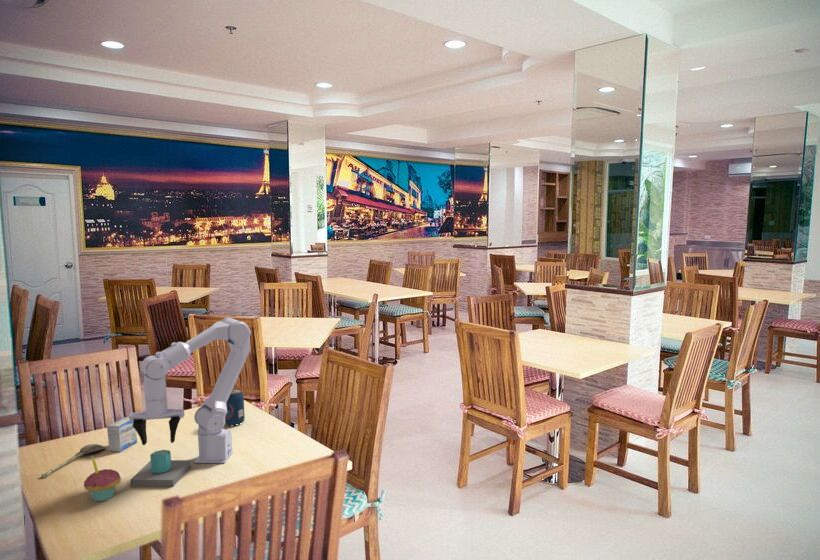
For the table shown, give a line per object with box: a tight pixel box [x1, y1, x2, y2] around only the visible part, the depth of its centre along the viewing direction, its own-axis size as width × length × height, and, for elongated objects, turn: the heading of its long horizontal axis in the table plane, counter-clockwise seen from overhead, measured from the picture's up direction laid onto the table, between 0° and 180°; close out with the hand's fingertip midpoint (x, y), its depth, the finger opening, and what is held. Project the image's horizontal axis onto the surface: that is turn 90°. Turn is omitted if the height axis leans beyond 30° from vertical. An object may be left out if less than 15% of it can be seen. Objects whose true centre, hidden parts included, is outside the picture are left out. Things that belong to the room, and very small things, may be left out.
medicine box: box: [106, 416, 138, 453], centre depth 177 cm, size 8×4×9 cm, turn 168°
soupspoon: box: [41, 443, 106, 479], centre depth 168 cm, size 22×3×7 cm
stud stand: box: [129, 459, 192, 488], centre depth 158 cm, size 12×12×6 cm
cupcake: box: [83, 455, 122, 502], centre depth 146 cm, size 9×8×12 cm
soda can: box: [225, 388, 246, 426], centre depth 197 cm, size 7×7×12 cm
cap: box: [149, 449, 172, 473], centre depth 157 cm, size 5×5×4 cm
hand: (158, 442), depth 159 cm, fingers open, 7 cm apart
